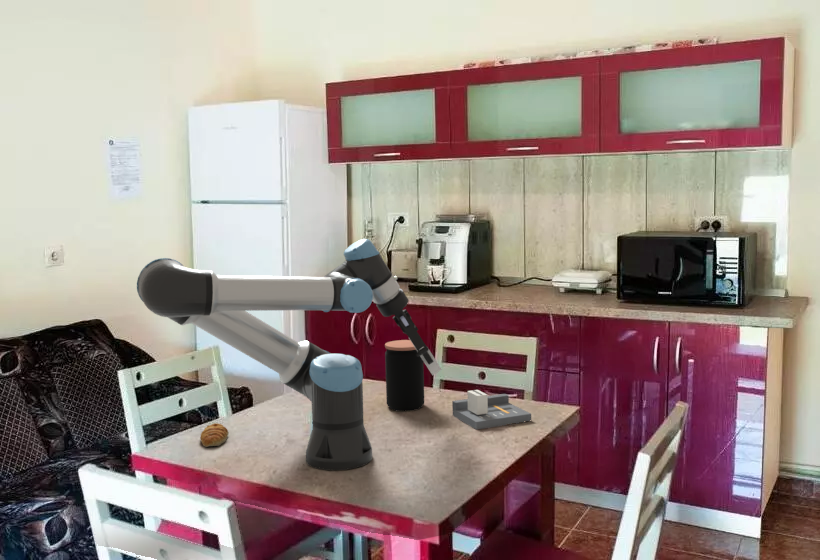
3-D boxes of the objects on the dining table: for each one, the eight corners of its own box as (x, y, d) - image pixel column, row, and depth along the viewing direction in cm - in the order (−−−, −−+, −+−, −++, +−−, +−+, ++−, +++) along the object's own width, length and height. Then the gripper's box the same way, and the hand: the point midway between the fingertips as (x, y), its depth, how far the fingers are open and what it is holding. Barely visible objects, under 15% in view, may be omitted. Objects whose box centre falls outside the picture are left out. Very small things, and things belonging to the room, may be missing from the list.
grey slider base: (476, 429, 207) (475, 414, 207) (452, 415, 220) (452, 401, 219) (531, 421, 213) (531, 406, 213) (505, 407, 226) (505, 393, 225)
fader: (477, 414, 212) (477, 395, 211) (467, 409, 217) (467, 390, 216) (487, 413, 213) (487, 394, 212) (477, 408, 218) (477, 389, 217)
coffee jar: (426, 401, 235) (424, 339, 232) (422, 412, 224) (421, 347, 222) (389, 401, 236) (387, 339, 233) (384, 411, 225) (382, 347, 223)
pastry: (226, 447, 199) (225, 432, 198) (197, 450, 198) (196, 434, 197) (229, 436, 208) (228, 421, 207) (201, 438, 207) (200, 423, 206)
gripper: (410, 300, 190) (455, 371, 197) (392, 276, 214) (432, 340, 220) (383, 318, 190) (428, 388, 196) (368, 291, 214) (409, 355, 220)
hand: (431, 363), depth 208 cm, fingers open, 13 cm apart
